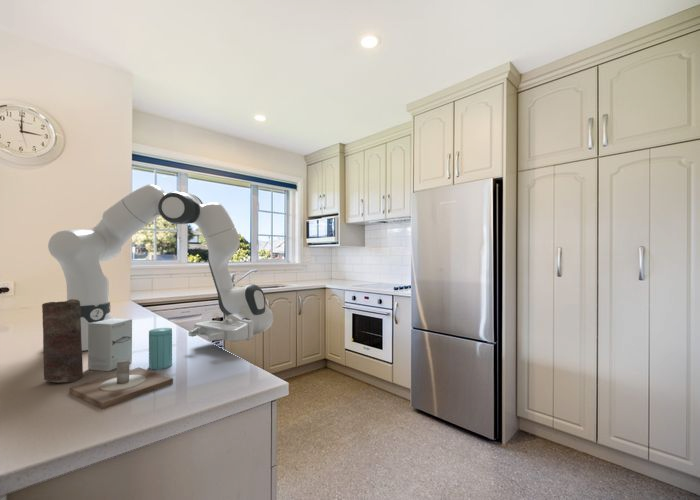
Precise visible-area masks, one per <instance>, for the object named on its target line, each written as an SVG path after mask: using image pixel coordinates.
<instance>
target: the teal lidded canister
mask: <svg viewBox="0 0 700 500" xmlns="http://www.w3.org/2000/svg"><path fill="white" fill-rule="evenodd" d="M172 365H173V329H172V328H171V327H158V328H152V329H150V330H148V369H149V368H150V370H152V369H157V370H162V368H164V369H166V367H167V368H170V367H171V366H172ZM169 366H170V367H169Z"/></svg>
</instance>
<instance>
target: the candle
mask: <svg viewBox="0 0 700 500" xmlns="http://www.w3.org/2000/svg"><path fill="white" fill-rule="evenodd" d="M41 310H42V340H43V341H42V345H43V346H42V350H43V380H44V381H47V382H50V383H51V382H52V383H59V384H60V383H73V382H76V381H78V380H79V379H80V378H82V377H83V376H84V375H83V373H84V371H83V368H84V365H83V363H84V362H83V351H82V342H81V312H80V301H78V300H74V299H70V300H68V301H67V300H66V301H64V300H63V301H50V302H45V303H42V304H41Z"/></svg>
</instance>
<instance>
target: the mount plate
mask: <svg viewBox="0 0 700 500" xmlns="http://www.w3.org/2000/svg"><path fill="white" fill-rule="evenodd" d="M171 383H172V384H174V378H173V377H169V376H168V375H164V374H161V373H158V372H154V371H152V370H149V369H146V368H142V367H135V368H132V369H130V363H129V360H121V361H118V362H117V368H116V373H115V374H112V375H109V376H104V377H102V378H99V379H95V380H91V381H87V382H84V383H81V384H78V385H77V384H76V385H74V386H71V387H69V394H71V395H73V396H75V397H77V398H80V399H81V400H84V401H86V402H88V403H90V404H92V405H94V406H96V407H97V408H99V409H100V408H101V409H107V408H109V407H111V406H114V405H117V404H120V403H123V402H125V401H128V400H130V399H134V398H136V397H139V396H142V395H145V394H147V392H148V393H149V391H150V392H152V390H153V391H155V389H156V390H158V388H159V389H161V388H164V387H166V385H167V386H169V385H168V384H170V385H172V384H171ZM163 386H164V387H163ZM144 393H145V394H144ZM141 394H142V395H141Z"/></svg>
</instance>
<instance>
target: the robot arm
mask: <svg viewBox="0 0 700 500" xmlns="http://www.w3.org/2000/svg"><path fill="white" fill-rule="evenodd" d="M101 217H102V218H101V220H100V221H99V222H98V223H97V224H96V226H94V227H92V228H89V229H84V228H83V229H82V228H70V229H69V228H68V229H63V230H60V231H57V232H55V233H53V234H52V236H51V237H50V238H49V241H48V245H47V246H48V247H47V249H48V252H49V253H50V255H51V257H53V258H54V259H55V260H56V261H57V262H58V263H59V265H60V267H61V270H62V272H63V275H64V278H65V282H66V284H65V285H66V301H68V300H70V299H74V300H78V301H80V312H81V342H82V352H83V351H88V324H89V323H93V322H98V321H102V320H107V319H111V318H115V317H114V316H113V315H112V314H110V312H111V302H110V299H109V298H110V297H109V296H110V295H109V293H110V291H109V284H110V283H109V279H108V277H107V276H106V275H105V274H104V272H103V270H102V267H101V263H100V262H102V263H103V262H107V261H109V260H112V259H113V258H116V257H117V256H119V255H120V253H121V250H122V248H123V247H124V245H126V243H127V242H128V241H129V240H130V239H131V238H132V237H134V235H136V234H137V233H138V232H139V231H141V230H142V229H143V228H145V227H146V226H148V225H149V224H150V223H152V222H153V221H154V220H156V219H157V218H159V217H162V219H163V220H165V221H167V222H168V223H169V224H174V225H188V224H194V225H196V226H197V227H198V228H199V230H200V231H201V234H202V236H203V238H204V241H205V243H206V247H207V250H208V251H207V253H208V256H207V261H208V267H209V270H210V273H211V277H212V280H213V283H214V286H215V290H216V294H217V300H218V307H219V309H220V312H222V314H223V315H225V318H224V319H223V320H222V321H220V320H205V321H200V322H196V323H195V324H193V325H194V326H193V329H190V330H189V331H188V336H189V337H192V338H193V337H196V336H197V335H199V336H202V337H207V340H208V341H217V340H218V341H220V340H223V341H228V342H232V343H233V342H235V343H236V342H237V343H238V342H243V341H250V340H252V339H253V338H254V337H253V336H254V335H257V334H260V333H262V332H264V331H267V330H268V329H269V328H270V327H272V325H273V322H274V313H273V312H272V310H271V309H270V308H269V307H268V305H267V303H266V296H265V293H264V291H263V289H262V287H260V286H259V285H257V284H253V283H252V284H249V285H248V284H247V285H244V286H241V287H237V288H236V287H234V285H233V282H232V278H231V275H230V272H229V268H228V267H229V262H230V260H231V259H232V258H233V256H234V255H235V254H236V253H237V252H238V249H239V248H240V245H241V244H240V242H241V241H240V236H239V233H238V231H237V229H236V227H235V224H234V222H233V220H232V218H231V216H230V215H229V212H228V211H227V210H226V208H225V207H224V206H223V205H222V204H221V203H218V202H208V203H205V204H204V203H203V201H202V200H201V199H200V198H199V197H198V196H196V195H194V194H191V193H190V192H185V191H183V192H182V191H171V192H168V193H166V191H165V190H163V188H161V187H159V186H158V185H155V184H146V185H143V186H141V187H140V188H138V189H136V190H133V191H132V192H130V193H129V194H127V195H125V196H124V197H123V198H121V199H120V200H119V201H117V202H116V203H114V204H113V205H111V206H110V207H109V208H107V209H106V210H105V211H104V212H103V213H102V216H101Z"/></svg>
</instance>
